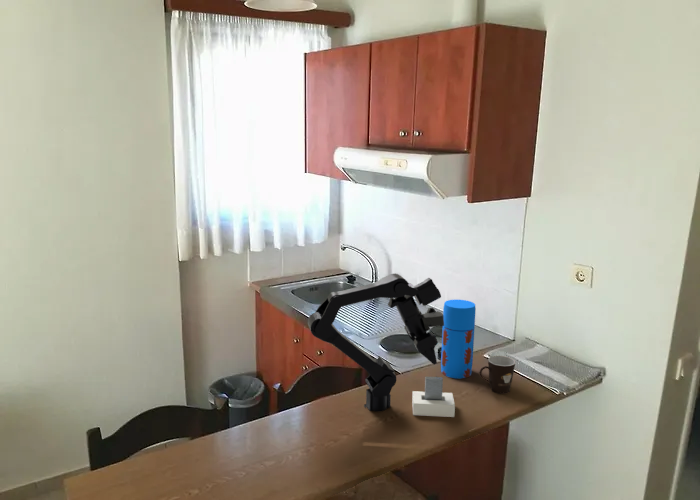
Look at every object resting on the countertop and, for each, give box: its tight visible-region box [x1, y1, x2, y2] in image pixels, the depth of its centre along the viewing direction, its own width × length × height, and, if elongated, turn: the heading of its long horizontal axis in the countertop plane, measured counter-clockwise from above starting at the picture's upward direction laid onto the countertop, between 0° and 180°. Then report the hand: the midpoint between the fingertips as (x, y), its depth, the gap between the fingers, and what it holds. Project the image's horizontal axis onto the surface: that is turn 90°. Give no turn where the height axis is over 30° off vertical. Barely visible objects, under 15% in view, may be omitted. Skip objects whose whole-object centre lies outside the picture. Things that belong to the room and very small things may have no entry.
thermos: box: [440, 299, 476, 379], centre depth 195 cm, size 11×11×25 cm
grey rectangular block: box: [424, 376, 444, 401], centre depth 168 cm, size 5×2×10 cm, turn 86°
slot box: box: [411, 390, 456, 418], centre depth 168 cm, size 12×8×4 cm, turn 86°
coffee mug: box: [479, 355, 516, 395], centre depth 183 cm, size 12×9×10 cm
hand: (431, 358), depth 169 cm, fingers open, 9 cm apart
